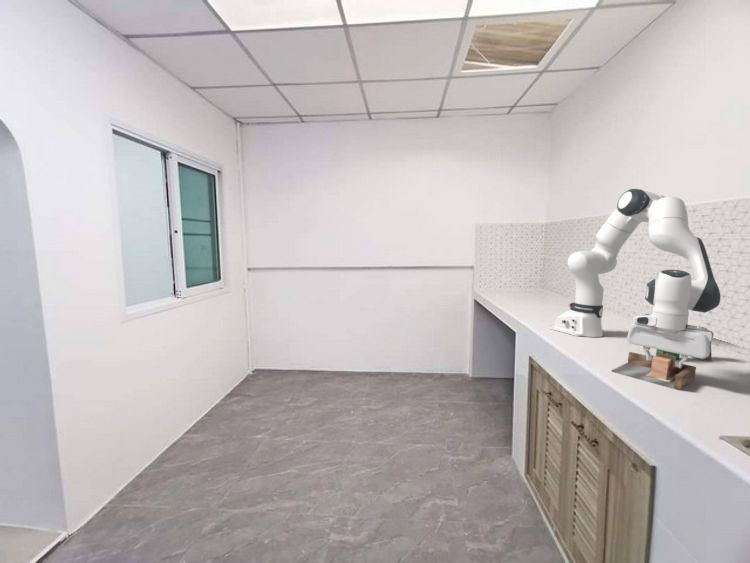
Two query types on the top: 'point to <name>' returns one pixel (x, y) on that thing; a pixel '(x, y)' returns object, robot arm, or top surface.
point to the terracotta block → (663, 366)
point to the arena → (642, 370)
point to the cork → (709, 354)
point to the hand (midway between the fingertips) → (663, 364)
